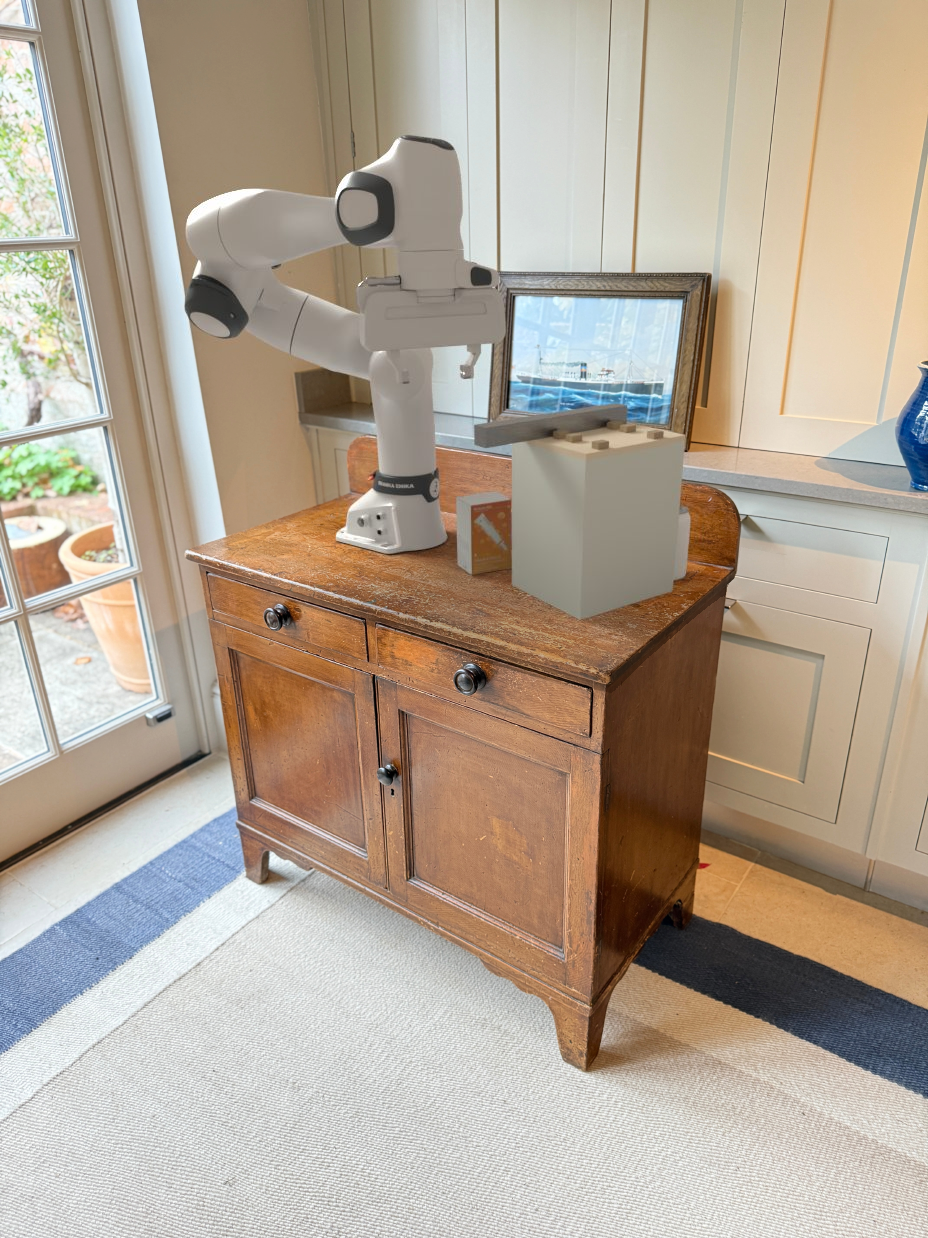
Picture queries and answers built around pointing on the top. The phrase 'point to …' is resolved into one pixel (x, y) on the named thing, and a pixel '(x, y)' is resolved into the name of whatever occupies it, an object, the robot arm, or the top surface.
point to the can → (682, 543)
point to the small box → (484, 532)
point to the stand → (596, 516)
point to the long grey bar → (547, 425)
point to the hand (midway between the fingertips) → (435, 380)
